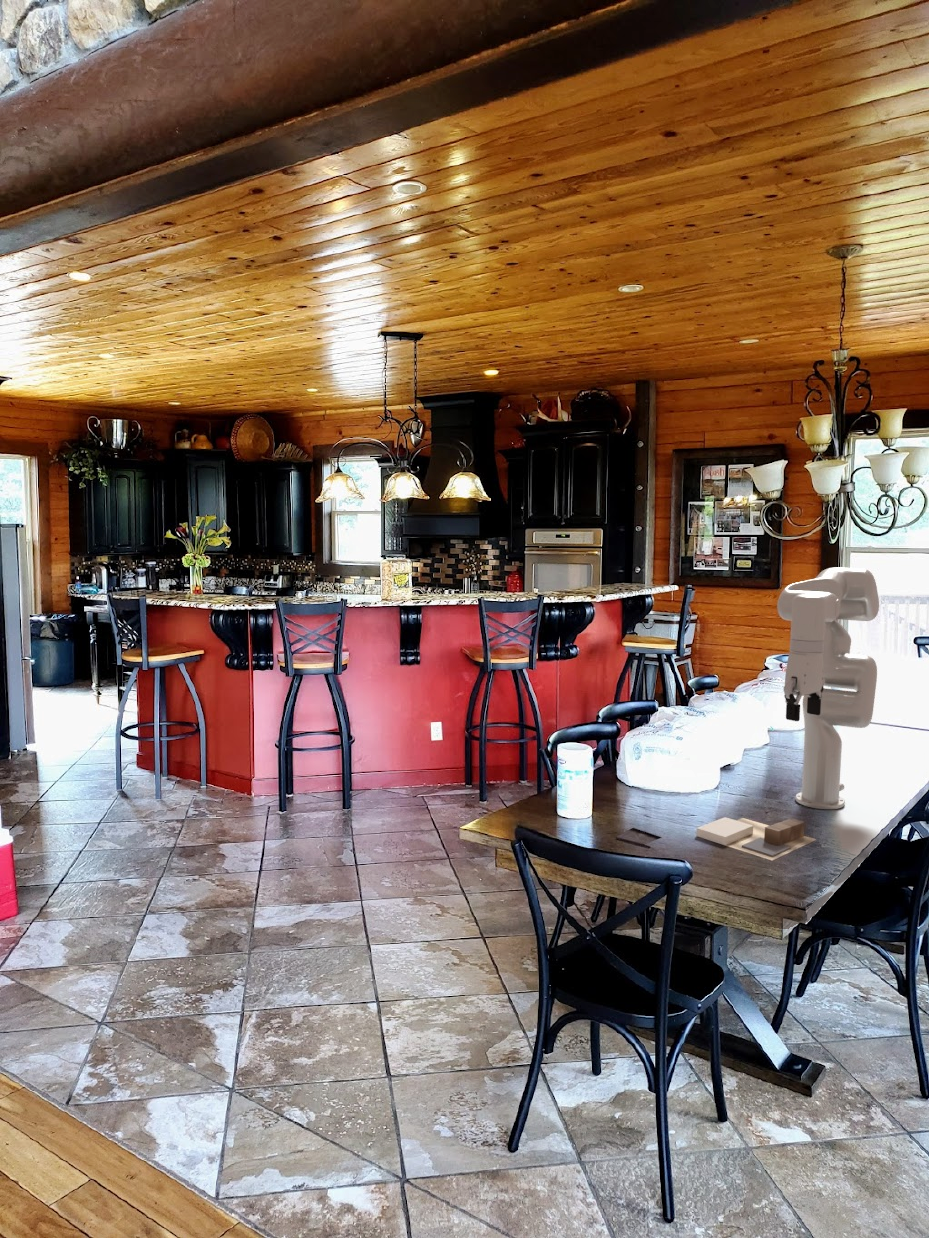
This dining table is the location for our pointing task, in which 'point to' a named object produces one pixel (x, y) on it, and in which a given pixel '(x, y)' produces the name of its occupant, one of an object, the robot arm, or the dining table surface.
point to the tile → (724, 831)
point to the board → (760, 832)
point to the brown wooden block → (784, 831)
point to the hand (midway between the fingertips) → (803, 717)
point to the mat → (765, 847)
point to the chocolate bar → (637, 837)
